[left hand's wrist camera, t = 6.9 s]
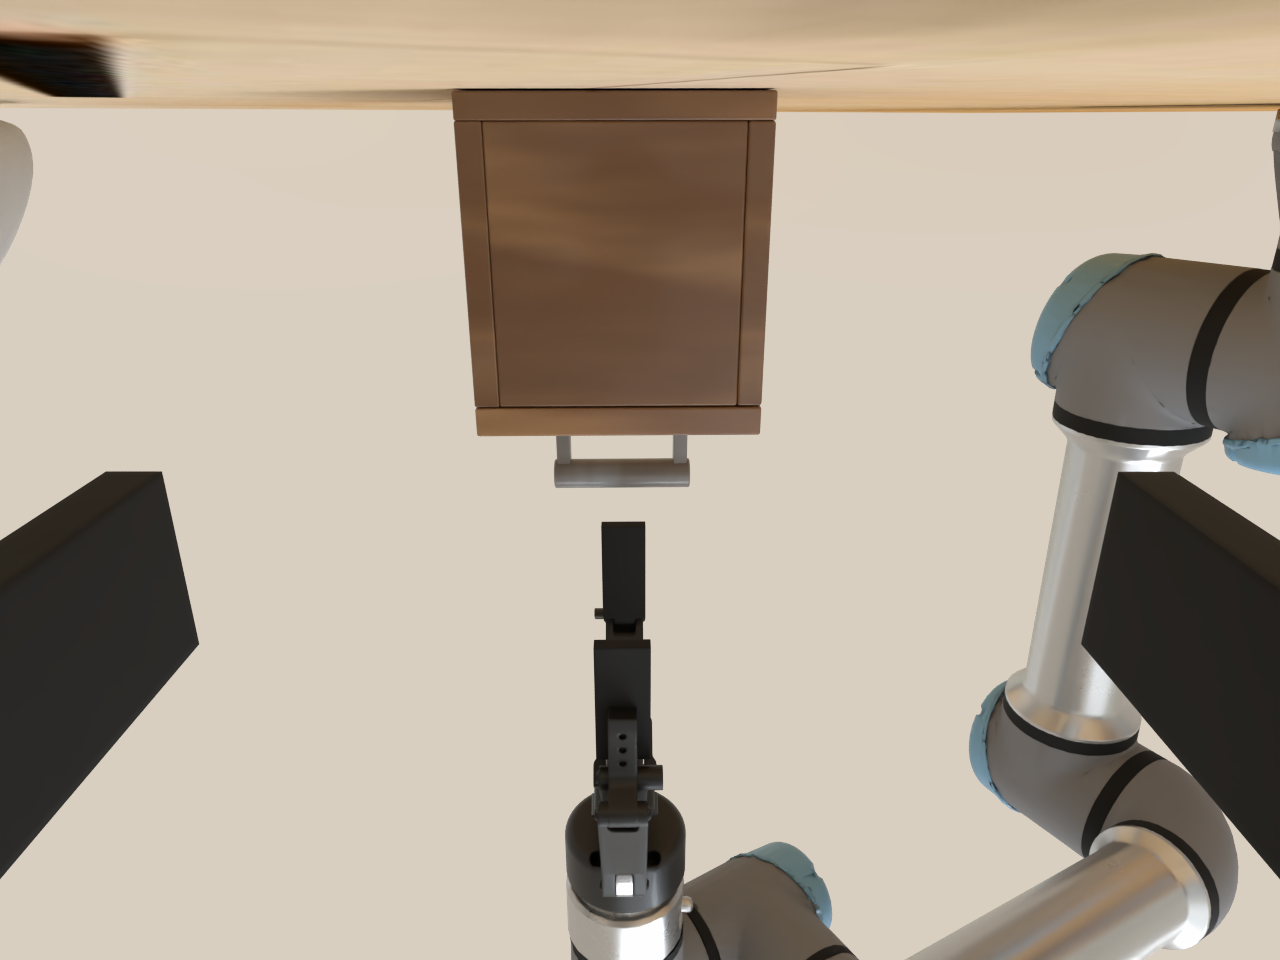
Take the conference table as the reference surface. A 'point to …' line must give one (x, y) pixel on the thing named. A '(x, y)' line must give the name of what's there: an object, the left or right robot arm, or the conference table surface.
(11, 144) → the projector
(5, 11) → the conference table surface
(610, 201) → the chest
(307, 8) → the conference table surface
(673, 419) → the lid
